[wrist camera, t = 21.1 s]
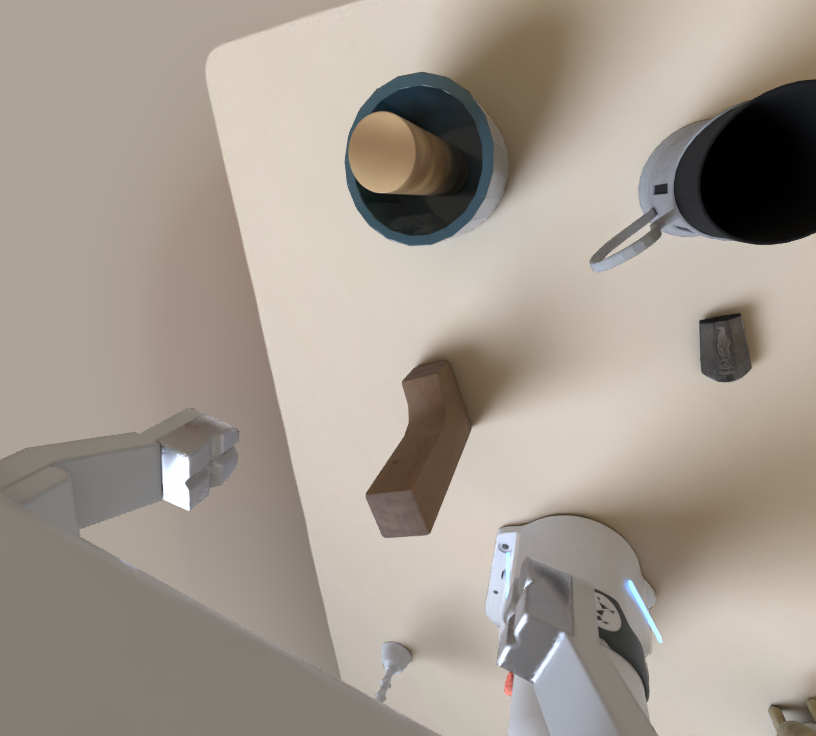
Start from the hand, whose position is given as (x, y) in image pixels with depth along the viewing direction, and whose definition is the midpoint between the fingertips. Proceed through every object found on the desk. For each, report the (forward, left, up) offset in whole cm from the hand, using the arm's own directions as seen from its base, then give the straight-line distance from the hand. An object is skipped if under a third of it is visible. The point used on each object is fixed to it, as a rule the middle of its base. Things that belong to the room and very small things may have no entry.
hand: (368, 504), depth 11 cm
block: (0, -19, -35) cm, 40 cm away
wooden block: (-15, +3, -35) cm, 39 cm away
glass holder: (+10, -10, -35) cm, 38 cm away
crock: (+8, +9, -35) cm, 37 cm away
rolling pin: (+8, +9, -34) cm, 36 cm away
